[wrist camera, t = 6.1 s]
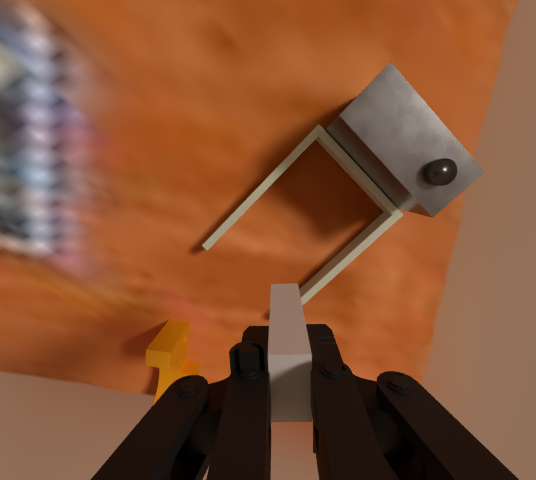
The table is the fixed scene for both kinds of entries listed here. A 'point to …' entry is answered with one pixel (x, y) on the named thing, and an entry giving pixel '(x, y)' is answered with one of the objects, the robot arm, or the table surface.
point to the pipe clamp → (170, 355)
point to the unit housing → (403, 146)
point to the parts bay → (355, 245)
